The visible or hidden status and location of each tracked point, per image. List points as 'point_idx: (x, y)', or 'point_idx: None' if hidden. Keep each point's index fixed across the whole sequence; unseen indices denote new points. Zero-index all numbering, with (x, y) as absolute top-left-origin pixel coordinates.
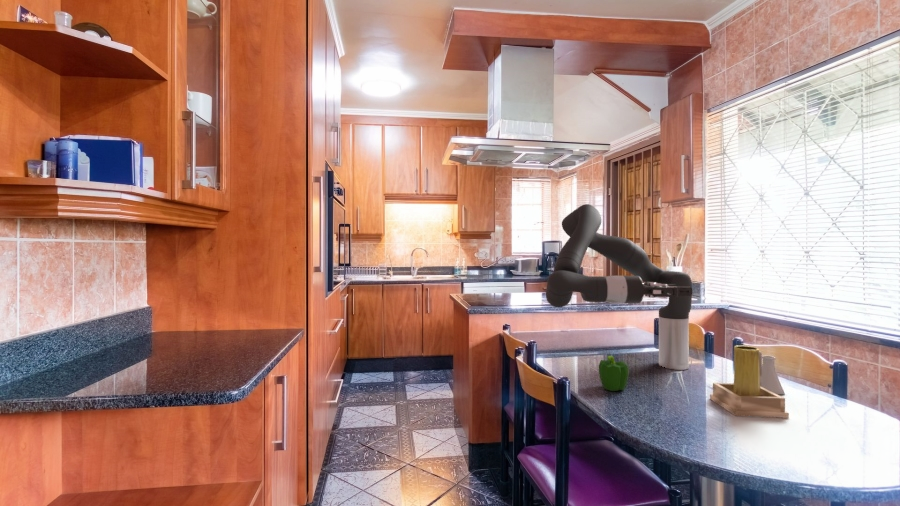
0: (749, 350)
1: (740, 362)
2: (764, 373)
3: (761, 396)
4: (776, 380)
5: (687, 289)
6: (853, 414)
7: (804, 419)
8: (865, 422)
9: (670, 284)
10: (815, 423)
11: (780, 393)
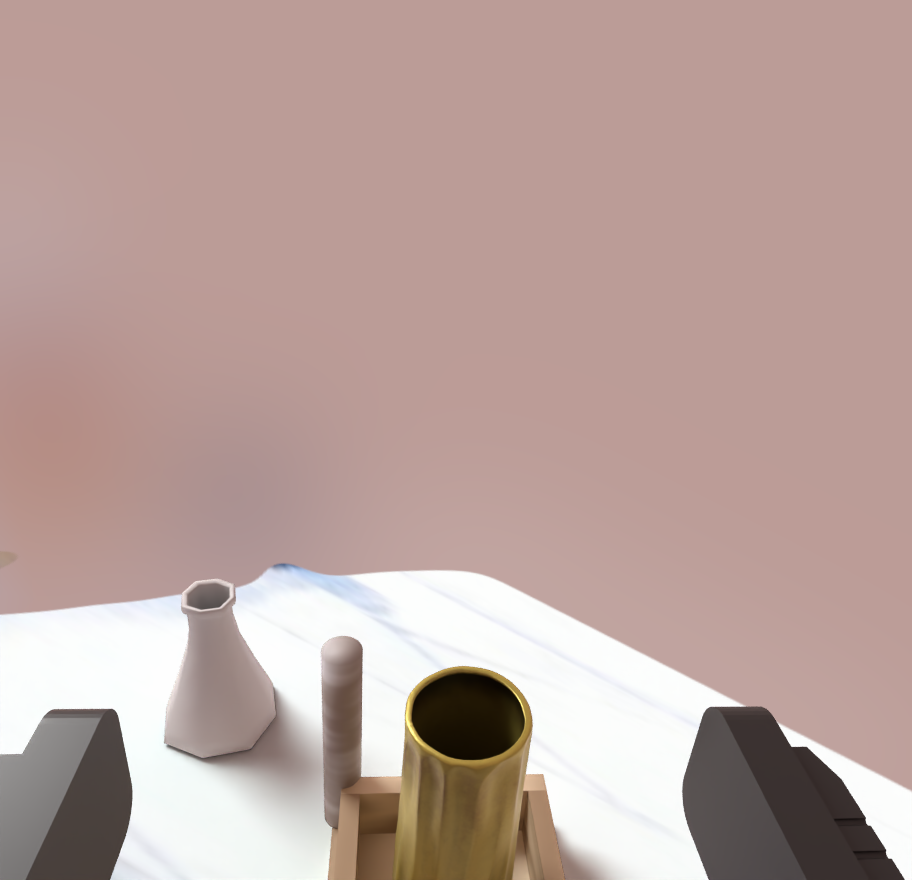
0: (531, 728)
1: (497, 816)
2: (224, 672)
3: (540, 858)
4: (254, 663)
5: (853, 814)
6: (454, 619)
7: (539, 772)
8: (517, 631)
9: (48, 826)
10: (572, 761)
11: (272, 695)
